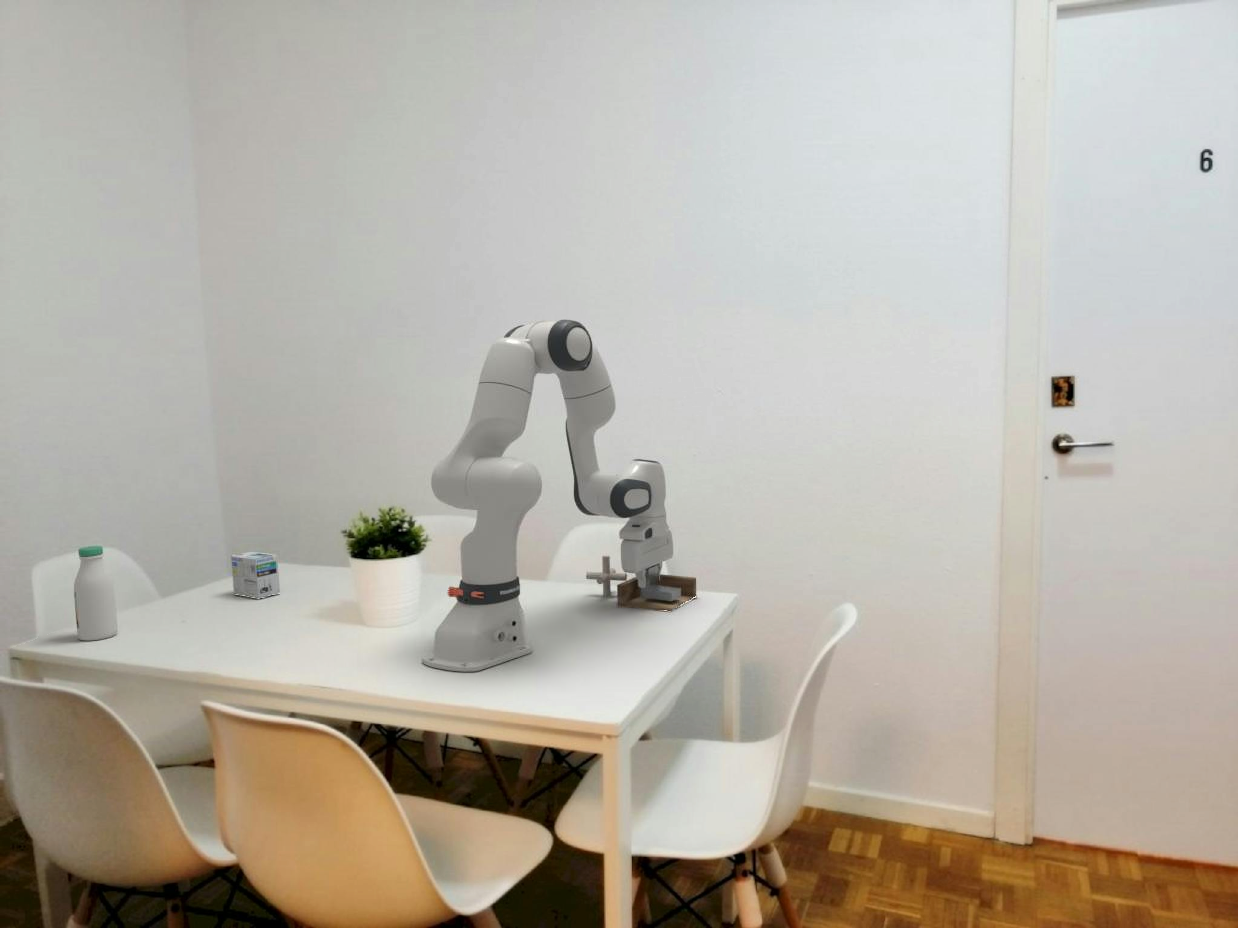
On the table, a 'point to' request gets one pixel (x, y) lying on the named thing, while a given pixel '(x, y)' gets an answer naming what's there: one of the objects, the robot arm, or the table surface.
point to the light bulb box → (255, 574)
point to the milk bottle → (94, 597)
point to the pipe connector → (606, 576)
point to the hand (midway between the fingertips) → (649, 584)
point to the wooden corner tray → (632, 598)
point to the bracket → (658, 587)
